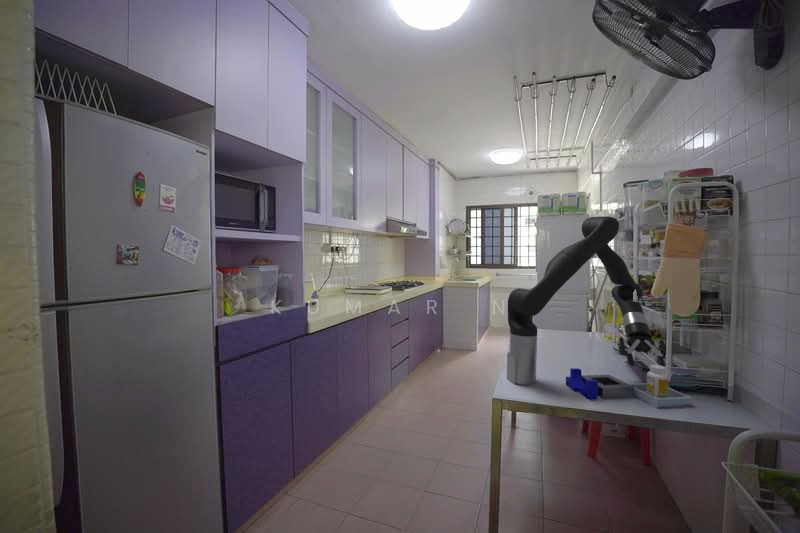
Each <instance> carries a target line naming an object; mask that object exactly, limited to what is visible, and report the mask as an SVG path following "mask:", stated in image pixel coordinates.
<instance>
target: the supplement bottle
mask: <svg viewBox="0 0 800 533" xmlns="http://www.w3.org/2000/svg"><path fill="white" fill-rule="evenodd" d="M646 383H647V389H646V393H647V394H649V395H652V396H654V397H656V398H667V392H668V387H669V377H668V375H667V374H666V367H665V366H664V367H663V366H660V365H658V364H650V365H649V371H647V373H646Z"/></svg>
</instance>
